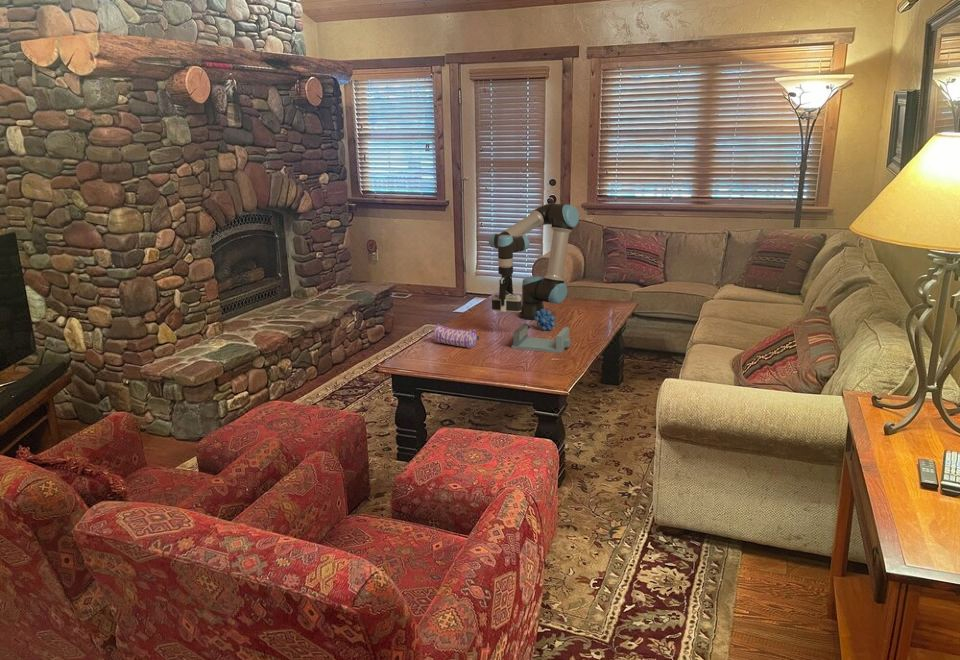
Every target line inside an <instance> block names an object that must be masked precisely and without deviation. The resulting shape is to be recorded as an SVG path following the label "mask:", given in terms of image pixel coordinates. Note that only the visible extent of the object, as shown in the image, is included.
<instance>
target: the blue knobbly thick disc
mask: <svg viewBox="0 0 960 660" xmlns="http://www.w3.org/2000/svg"><path fill="white" fill-rule="evenodd" d="M536 315H537V316H535V317H534V319H535V320H534V321H536V326H537V327H538V328H541V330H542V331H543V332H545V330H546V331H552V330H553V328H554V327H556V325H557V324H556V322H555V321H556V317H555V316H554V315H552V311H550V310H546V309H545V308H544V309H541V310H540V311H536Z"/></svg>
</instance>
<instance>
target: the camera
mask: <svg viewBox="0 0 960 660" xmlns="http://www.w3.org/2000/svg"><path fill="white" fill-rule="evenodd" d="M505 299H506V312H508V313H509V312H510V313H511V312H512V313H519V312H521V311H522V309H521V306H522V296H521V295H519V294H518V295H517V294H516V295H514V294H510V293H508V292H507V291H506V297H505ZM491 310H492V311H495V312H496V311H497V312H502V311H501V299H499V294H496V293H494V294H493V295H491Z"/></svg>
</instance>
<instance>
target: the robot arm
mask: <svg viewBox="0 0 960 660" xmlns="http://www.w3.org/2000/svg"><path fill="white" fill-rule="evenodd" d="M579 218H580V215H579V211H578V209H577V207H575V206H574V205H571V204H563V203H546V204H544V205H541V206H539V207H537V208H535V209H533V210H532V211H531V212H530V213H529V215H527V216H526V217H524V218H522V219H521V220H519V221H518V222H516V223H515V224H513V225H512V226H510V227H507V228H506V229H505V230H503V231H501V232H499V233H492V234H490V236H489V238H488V245H489V246H490V248H493V249H495V250H496V249H497V258H498V259H497V260H496V261H497V265H498V267H497V269H498V275H501V278H500V279H499V288H498V289H499V292H498V295H499V299H501V311H500V312H505V313H506V312H507V311H506V299H505V297H506V291H507V292H508V293H510V294H511V295H514V289H513V287H514V286H513V273H514V257H513V256H514V253H519V252H524V251H526V250H527V249H528V250H529V247H530V240H529V237H527V236H525V235H526V234H528V233H529V232H531V231H533V230H534V229H536V228H541V227H542V226H545V225H551V227H550V228H551V229H552V232H553V233H552V240H551V246H550V251H549V253H550V254H549V259H548V266H547V271H546V275H544V276H542V275H537V276H535V275H534V276H528V277H527V276H526V277H524V278H523V279H522V285H521V290H522V291H521V292H522V293H521V298H522V299H521V309H522V311H521V312H518V317H519V319H523V320H528V321H536V320H535V319H534V317H535V316H537V315H536V311H540V310H541V309H545V307H544V302H545V303H550V304H556V305H558V304H561V303H562V302H563V301H564V300H565V299H566V298H567V294H568V288H567V287H568V286H567V285H566V283H565V278H563V275H564V268H565V267H564V266H565V262H566V256H567V249H568V242H569V236H570V233H572V232H573V230H574V228H575V227H576V226H577V225H578V223H579V220H580V219H579Z"/></svg>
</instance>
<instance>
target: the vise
mask: <svg viewBox="0 0 960 660" xmlns="http://www.w3.org/2000/svg"><path fill="white" fill-rule="evenodd" d="M570 345H571V338H570V327H568V326H565V327H563V328H562V329H561V330H560V331H559V333H557V335H556V336H555V339H552V338H540V337H529V336H528V337H527V338H526V339H525V340H524V341H523V342H522V343H521V344H520V345H519V346H516V345H514V343H513V344H511V349H514V350H515V349H516V350H522V351H523V350H525V351H534V352H535V351H537V352H543V353H544V352H545V353H553V352H554V353H555V354H562V353H563V352H564V350H565V349H566V348H569V347H570Z"/></svg>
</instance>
